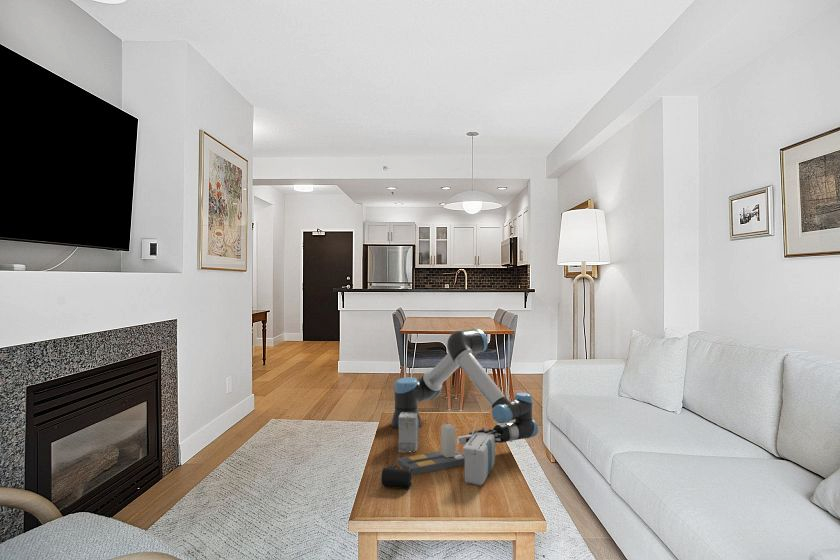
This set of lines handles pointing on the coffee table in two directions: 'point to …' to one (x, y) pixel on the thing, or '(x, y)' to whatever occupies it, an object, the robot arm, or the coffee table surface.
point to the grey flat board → (431, 462)
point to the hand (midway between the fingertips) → (458, 440)
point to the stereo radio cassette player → (479, 457)
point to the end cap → (396, 477)
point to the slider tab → (448, 440)
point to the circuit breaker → (408, 431)
